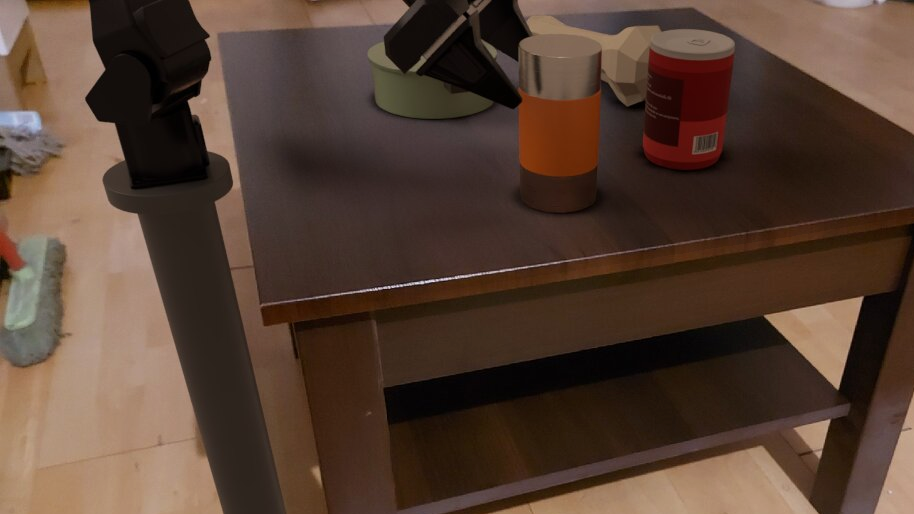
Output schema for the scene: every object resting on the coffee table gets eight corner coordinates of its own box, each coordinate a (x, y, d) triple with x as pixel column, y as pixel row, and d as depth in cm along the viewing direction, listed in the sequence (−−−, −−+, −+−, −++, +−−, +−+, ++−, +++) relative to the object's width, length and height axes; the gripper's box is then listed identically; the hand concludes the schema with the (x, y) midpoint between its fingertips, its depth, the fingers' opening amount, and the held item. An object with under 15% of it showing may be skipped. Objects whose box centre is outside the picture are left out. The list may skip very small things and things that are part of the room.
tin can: (538, 218, 72) (538, 61, 65) (508, 187, 77) (504, 37, 70) (610, 205, 75) (617, 52, 67) (576, 176, 80) (580, 30, 72)
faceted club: (628, 111, 91) (490, 63, 107) (681, 117, 97) (543, 70, 113) (647, 24, 88) (502, -13, 104) (701, 35, 94) (556, -1, 110)
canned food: (728, 147, 87) (743, 34, 81) (710, 177, 80) (725, 57, 74) (655, 135, 89) (664, 24, 83) (631, 163, 82) (639, 46, 76)
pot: (397, 133, 86) (392, 83, 84) (354, 81, 99) (349, 36, 96) (523, 116, 92) (523, 69, 89) (468, 68, 104) (466, 26, 102)
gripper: (412, -139, 54) (582, 53, 59) (490, -162, 70) (620, -8, 75) (312, -16, 60) (475, 152, 65) (405, -62, 75) (531, 76, 80)
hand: (531, 86), depth 71 cm, fingers open, 9 cm apart
